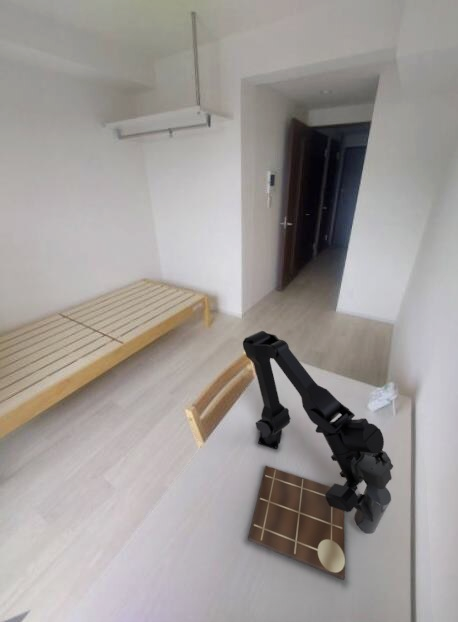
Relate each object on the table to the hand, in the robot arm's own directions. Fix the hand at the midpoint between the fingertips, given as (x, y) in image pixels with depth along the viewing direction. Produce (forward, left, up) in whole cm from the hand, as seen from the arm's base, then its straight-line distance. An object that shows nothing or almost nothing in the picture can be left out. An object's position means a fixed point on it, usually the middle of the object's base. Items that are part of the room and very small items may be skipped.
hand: (377, 513), depth 62 cm
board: (-17, -1, -10) cm, 20 cm away
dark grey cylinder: (-1, +1, -7) cm, 7 cm away
